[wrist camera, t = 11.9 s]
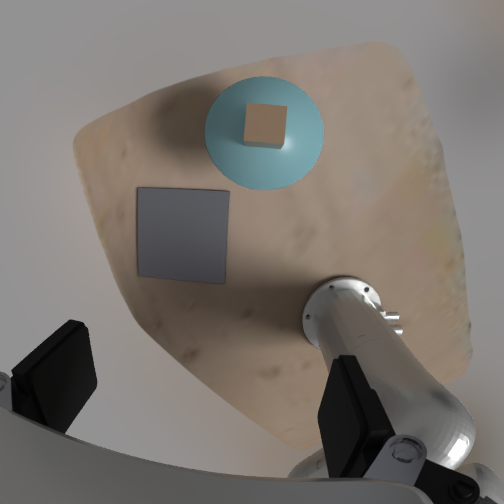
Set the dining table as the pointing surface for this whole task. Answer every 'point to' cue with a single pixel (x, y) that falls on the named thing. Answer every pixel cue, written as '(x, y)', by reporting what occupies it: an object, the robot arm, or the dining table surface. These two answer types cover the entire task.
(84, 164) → the dining table surface
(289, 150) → the lid
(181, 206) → the mat
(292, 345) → the dining table surface
